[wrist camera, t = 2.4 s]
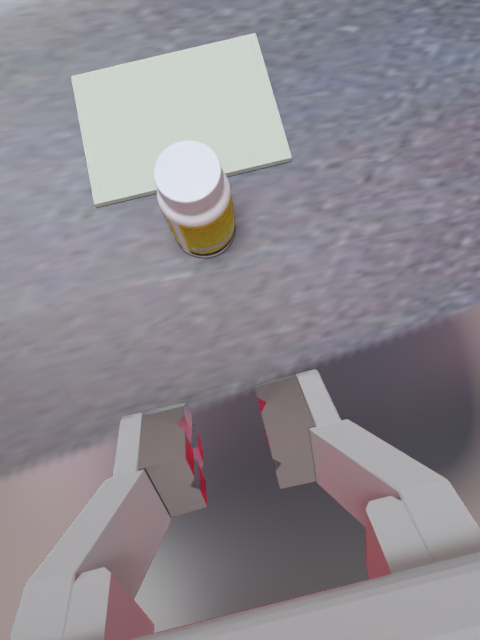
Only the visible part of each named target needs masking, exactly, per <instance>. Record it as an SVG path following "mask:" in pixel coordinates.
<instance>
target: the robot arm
mask: <svg viewBox="0 0 480 640" xmlns="http://www.w3.org/2000/svg"><path fill="white" fill-rule="evenodd" d="M254 386H255V390H256V394H257V399H258V403H259V407H260V411H261V415H262V419H263V424H264V428H265V432H266V436H267V440H268V443H269V448H270V452H271V456H272V460H273V464H274V468H275V471H276V475H277V479H278V483H279V487H280V489H283V488H288V487H292V486H296V485H301V484H306V483H310V482H315V481H317V483H318V484H319V485H320V486H321V487H322V488H323V489H324V490H325V491H326V492H327V493H328V494H330V495H331V496H332V497H333V498H334V499H335V500H336V501H337V502H338V503H339V504H340V505H341V506H342V507H344V508H345V509H346V510H347V511H348V512H349V513H350V514H351V515H353V517H354V518H355V519H357V520H358V521H359V522H360V523H361V524H362V525H363V526H364V527H365V528H366V560H367V573H368V576H369V579H368V580H364V581H360V582H356V583H353V584H348V585H344V586H340V587H336V588H332V589H328V590H324V591H321V592H317V593H313V594H309V595H305V596H301V597H297V598H293V599H289V600H285V601H281V602H277V603H273V604H269V605H265V606H261V607H257V608H253V609H249V610H245V611H241V612H237V613H234V614H229V615H225V616H221V617H217V618H213V619H209V620H205V621H201V622H197V623H193V624H189V625H185V626H181V627H177V628H173V629H169V630H165V631H161V632H158V633H154V624H153V623H152V622H151V620H150V619H149V618H148V617H147V615H146V614H145V613H144V612H143V611H142V609H141V608H140V607H139V606H138V605H137V604H136V602H135V601H134V598H135V596H136V594H137V592H138V590H139V587H140V585H141V583H142V581H143V579H144V577H145V575H146V573H147V571H148V568H149V566H150V564H151V562H152V560H153V558H154V556H155V554H156V552H157V549H158V547H159V545H160V543H161V541H162V539H163V537H164V534H165V532H166V530H167V528H168V526H169V524H170V522H171V518H170V517H174V516H178V515H181V514H185V513H188V512H192V511H196V510H199V509H203V508H206V507H207V496H206V482H205V478H204V476H203V473H202V471H201V468H202V467H203V465H204V457H203V450H202V444H201V440H200V436H199V433H198V430H197V427H196V425H194V424H192V419H191V411H190V409H189V407H188V404H187V403H185V402H184V403H179V404H175V405H170V406H166V407H161V408H157V409H152V410H148V411H144V412H141V413H136V414H132V415H127V416H123V418H122V419H121V421H120V425H119V432H118V439H117V446H116V452H115V460H114V466H113V473H112V477H111V478H107V479H105V480H104V482H103V483H102V484H101V485H100V487H99V488H98V489H97V491H96V492H95V493H94V495H93V496H92V497H91V498H90V500H89V501H88V502H87V504H86V505H85V507H84V508H83V509H82V510H81V512H80V513H79V514H78V515H77V517H76V518H75V519H74V521H73V522H72V523H71V525H70V526H69V527H68V529H67V530H66V531H65V533H64V534H63V535H62V536H61V538H60V539H59V541H58V542H57V543H56V544H55V546H54V547H53V548H52V550H51V551H50V552H49V554H48V555H47V556H46V558H45V559H44V560H43V561H42V563H41V564H40V565H39V567H38V568H37V569H36V571H35V572H34V573H33V574H32V576H31V577H30V578H29V580H28V581H27V582H26V584H25V586H24V589H23V593H22V596H21V600H20V603H19V607H18V610H17V614H16V618H15V621H14V625H13V628H12V632H11V636H10V639H9V640H480V528H479V526H478V525H477V523H476V522H475V520H474V519H473V517H472V516H471V514H470V513H469V511H468V510H467V508H466V506H465V505H464V504H463V502H462V500H461V499H460V497H459V496H458V494H457V493H456V491H455V490H454V488H453V487H452V485H451V484H450V482H449V480H447V479H446V478H444V477H442V476H441V475H439V474H438V473H436V472H434V471H433V470H431V469H429V468H427V467H426V466H424V465H423V464H421V463H419V462H418V461H416V460H414V459H413V458H411V457H410V456H408V455H406V454H405V453H403V452H401V451H399V450H398V449H396V448H395V447H393V446H391V445H389V444H388V443H386V442H385V441H383V440H381V439H380V438H378V437H376V436H375V435H373V434H372V433H370V432H368V431H366V430H365V429H363V428H362V427H360V426H358V425H357V424H355V423H353V422H352V421H350V420H348V419H346V420H341V419H340V417H339V415H338V412H337V410H336V408H335V406H334V404H333V402H332V400H331V398H330V396H329V394H328V391H327V389H326V387H325V385H324V383H323V381H322V378H321V376H320V374H319V372H318V371H317V370H316V369H314V370H310V371H307V372H303V373H299V374H295V375H291V376H288V377H284V378H280V379H276V380H272V381H268V382H264V383H260V384H256V385H254Z"/></svg>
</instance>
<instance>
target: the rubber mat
mask: <svg viewBox="0 0 480 640" xmlns="http://www.w3.org/2000/svg"><path fill="white" fill-rule="evenodd" d="M71 79H72V85H73V90H74V96H75V101H76V107H77V112H78V118H79V123H80V129H81V134H82V140H83V145H84V151H85V156H86V162H87V167H88V173H89V178H90V184H91V189H92V195H93V200H94V205H95V206H96V207H101V206H105V205H110V204H114V203H118V202H122V201H126V200H131V199H135V198H139V197H143V196H147V195H152V194H156V193H157V187H156V184H155V181H154V174H153V172H154V166H155V163H156V160H157V158H158V157H159V155H160V154H161V153H162V151H163V150H165V149H166V148H167V147H168V146H170V145H172V144H174V143H176V142H180V141H186V140H193V141H198V142H201V143H204V144H206V145H207V146H209V147H210V148H211V149H212V150H213V151H214V152H215V153H216V155H217V156H218V158H219V160H220V163H221V167H222V170H223V171H224V172H225V174H226V176H231V175H236V174H240V173H244V172H248V171H252V170H257V169H261V168H265V167H269V166H274V165H278V164H282V163H286V162H290V161H291V160H292V156H291V153H290V149H289V146H288V142H287V139H286V135H285V132H284V129H283V125H282V122H281V118H280V115H279V112H278V108H277V105H276V101H275V98H274V94H273V91H272V88H271V84H270V81H269V77H268V74H267V70H266V67H265V64H264V60H263V57H262V53H261V50H260V46H259V43H258V40H257V36H256V33H253V34H249V35H244V36H240V37H236V38H232V39H227V40H223V41H219V42H215V43H210V44H206V45H202V46H198V47H193V48H189V49H185V50H181V51H176V52H172V53H168V54H164V55H159V56H155V57H151V58H147V59H142V60H138V61H134V62H129V63H125V64H121V65H117V66H112V67H108V68H104V69H100V70H95V71H91V72H87V73H83V74H78V75H74V76H71Z"/></svg>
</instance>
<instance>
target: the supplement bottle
mask: <svg viewBox="0 0 480 640" xmlns="http://www.w3.org/2000/svg"><path fill="white" fill-rule="evenodd" d="M153 174H154V181H155V184H156V187H157V200H158V204H159V207H160V209H161V211H162V213H163V215H164V217H165V219H166V221H167V223H168V225H169V227H170V229H171V231H172V233H173V235H174V236H175V238H176V240H177V242H178V244H179V245H180V247H181V248H182V249H183V250H184V251H186V252H187V253H189V254H191V255H193V256H196V257H201V258H208V257H213V256H216V255H218V254H220V253H222V252H223V251H224V250H226V249H227V248H228V246H229V245H230V244H231V242H232V240H233V237H234V234H235V219H234V211H233V203H232V195H231V187H230V183H229V180H228V178H227V176H226V174H225V172H224V171H223V170H222V167H221V163H220V160H219V158H218V156H217V155H216V153H215V152H214V151H213V150H212V149H211V148H210V147H209V146H207V145H206V144H204V143H201V142H198V141H193V140H186V141H180V142H176V143H174V144H172V145H170V146H168V147H167V148H166V149H165V150H163V151H162V153H161V154H160V155H159V157H158V158H157V160H156V163H155V166H154V172H153Z"/></svg>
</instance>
